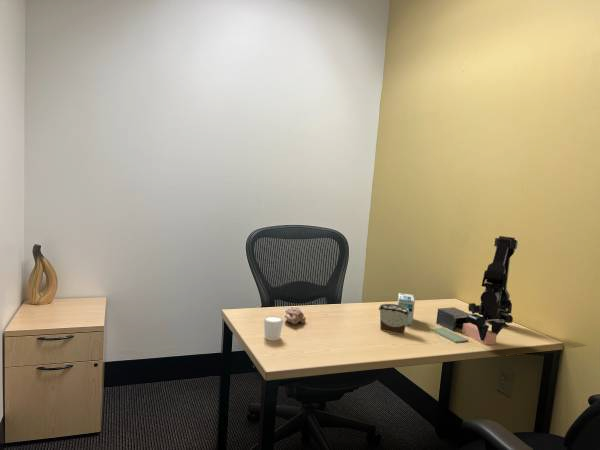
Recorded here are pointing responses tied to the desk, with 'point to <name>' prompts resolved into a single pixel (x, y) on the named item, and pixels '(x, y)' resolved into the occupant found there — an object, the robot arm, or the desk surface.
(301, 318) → the mineral specimen
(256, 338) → the desk surface
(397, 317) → the food container
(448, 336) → the green block
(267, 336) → the white cylinder
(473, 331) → the pink block
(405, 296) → the light bulb box
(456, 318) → the dispenser
